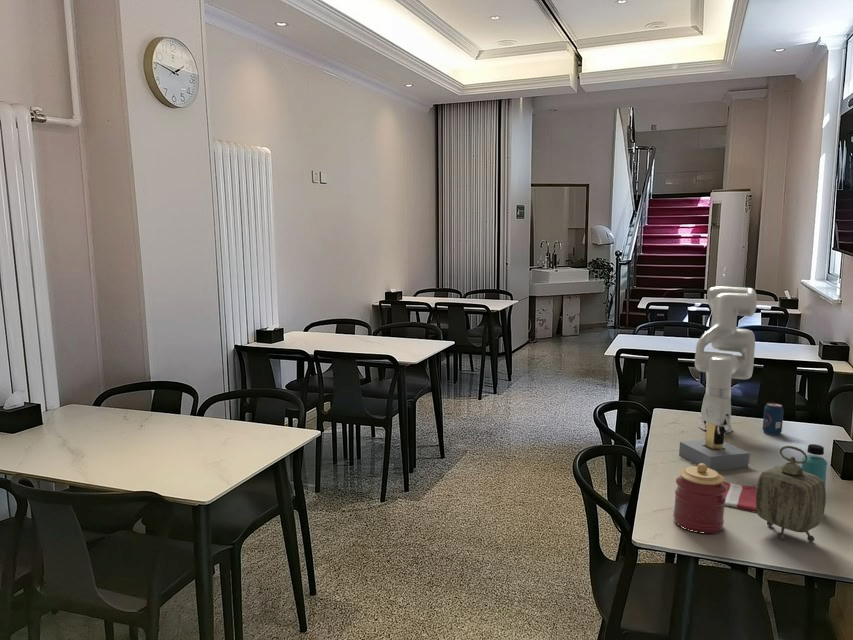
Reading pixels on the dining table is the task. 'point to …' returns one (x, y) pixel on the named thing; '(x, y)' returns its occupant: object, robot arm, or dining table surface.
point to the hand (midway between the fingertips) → (714, 441)
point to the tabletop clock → (791, 497)
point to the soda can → (773, 418)
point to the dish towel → (740, 496)
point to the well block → (714, 455)
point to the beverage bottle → (815, 462)
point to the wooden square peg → (712, 438)
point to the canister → (700, 499)
